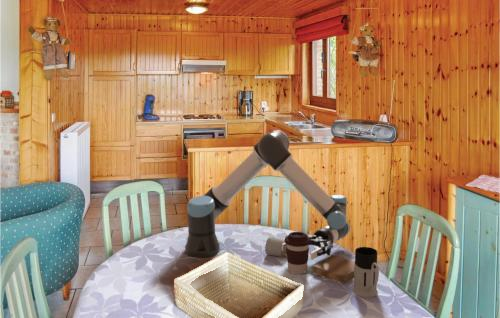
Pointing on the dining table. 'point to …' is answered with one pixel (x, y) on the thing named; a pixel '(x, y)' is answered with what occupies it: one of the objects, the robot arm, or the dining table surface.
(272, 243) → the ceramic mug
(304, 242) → the coffee cup
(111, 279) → the dining table surface
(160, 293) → the dining table surface
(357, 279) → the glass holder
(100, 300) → the dining table surface
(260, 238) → the dining table surface
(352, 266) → the walnut slab
